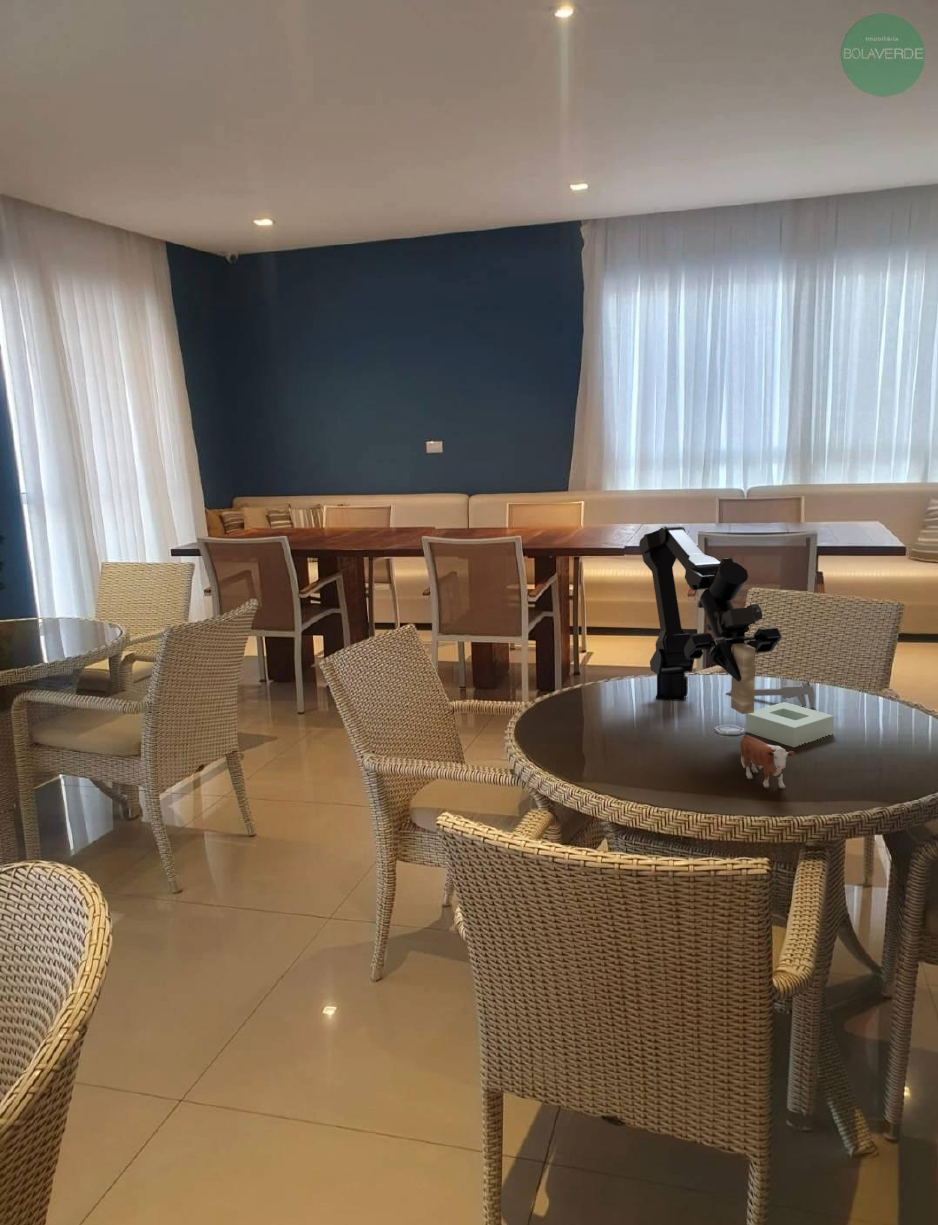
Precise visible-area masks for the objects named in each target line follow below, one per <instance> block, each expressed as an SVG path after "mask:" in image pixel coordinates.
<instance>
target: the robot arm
mask: <svg viewBox="0 0 938 1225" xmlns="http://www.w3.org/2000/svg"><path fill="white" fill-rule="evenodd" d="M638 544H639V545H638V547H639V551H640V553H641V557H642V561H643V563H644V564H645V565H646V566H647V568H648V569H649V570H650V571H651V574H652V581H653V588H654V594H655V601H656V602H655V603H656V608H657V615H658V622H659V628H660V630H659V631H660V632H659V634H658V637H657V639H656V641H655V651H654V653H653V655H652V656H651V659H650V660H649V667H650V671H652V672H653V673H655V674H656V695H655V699H656V700H670V701H673V700H674V701H684V700H685V699H686V697H687V695H688V694H689V693H688V692H689V691H688V690H689V689H688V687H689V677H688V676H687V675H686V672H689V673H691V672H693V669H694V668H693V667H694V663H695V660H698V659H701V658H702V656H703V655H704V650H708V652H709V655H708V658H707V659H708V661H709V662H713V663H715V664H716V665H718V666H719V667H721V668H722V669H723V670H724V671H725V672H727V674H729V675H730V676H731V678H732V677H733V678H735V679H736V680H737V681H740V680H741V675H740V672H739V669H738V667H737V664H736V662H735V659H734V657H733V655H732V644H740V643H745V644H747V645H749V646H752V647H754V648H755V656H756V654H763V653H769V652H772V651H774V649H775V647H776V646H777V645H778V643H779V642H780V641H781V639H782V638H783V636H782V634H781V632H780V629H779V628H778V627H775V626H769V627H758V628H757V630H756V632H755V633H754V634H751V635H745V634H746V633H749V631H750V626H751V625H755V624H756V623H757V622H758V621H760V620H762V619H763V612H762V609H761V606H760V605H759V603H752V604H749V605H747V606H746V607H736V608H735V607H734V604H733V602H732V600H734V599H736V598H737V596H738V595H739V593H740V591H741V590H742V588H743V587H744V585H745V583H746V582H747V580H748V579H749V578H748V577H749V573H748V571H747V569H746V568H744V567H743V565H741V564H739V563H738V562H734V561H733V558H732V557H727V558H722V559H721V560H720V561H719V560H718V559H717V558H715V557H713V556H709V555H707V554H704V553H703V552H702V550H700V548H699V547H698V545H696V543H695V542H694V541H693V540H692V539H691V537H690V536H689V535H688V534H687V533H686V529H685V527H684V526H683V525H682V526H681V525H680V524H677V525H665V526H663V527H660V528H658V529H657V530H655V531H652V532H649V533H645V534H644V535H643V537H641V538H640V539H639V542H638ZM676 560H677V561H678V562H679V563H680V564H681V565H682V567H683V568H684V571H685V573H684V579H685V582H686V584H687V586H689V589H690V590H692V591H702V590H703V591H702V594H701V595H700V596H699V600H698V603H697V607H698V608H699V609H703V610H704V613H705V616H706V619H707V622H708V623H707V625H706V628H707V630H708V631H711V632H712V634H711V633H710V632H699V633H692V634H690V633H686V631H685V630H684V629H683V628H682V623H681V622H682V621H681V616H680V610H679V602H678V596H677V589H676V582H675V577H674V569H673V567H674V564H675V562H676Z"/></svg>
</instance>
